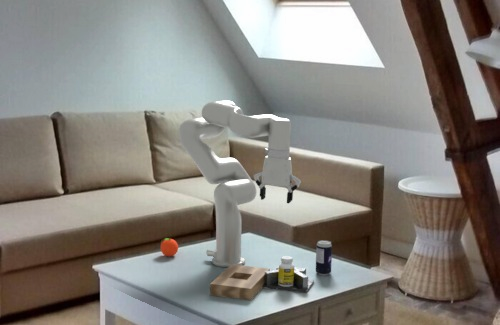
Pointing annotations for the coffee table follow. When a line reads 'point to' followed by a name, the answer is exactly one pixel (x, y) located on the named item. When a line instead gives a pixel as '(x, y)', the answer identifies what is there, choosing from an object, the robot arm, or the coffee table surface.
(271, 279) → the v block
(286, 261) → the supplement bottle
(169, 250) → the clementine
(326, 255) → the beverage can
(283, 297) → the coffee table surface
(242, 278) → the wooden block with hole
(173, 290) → the coffee table surface
